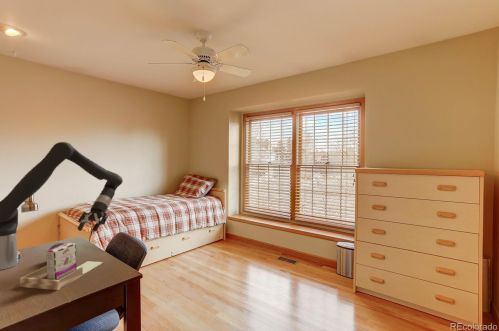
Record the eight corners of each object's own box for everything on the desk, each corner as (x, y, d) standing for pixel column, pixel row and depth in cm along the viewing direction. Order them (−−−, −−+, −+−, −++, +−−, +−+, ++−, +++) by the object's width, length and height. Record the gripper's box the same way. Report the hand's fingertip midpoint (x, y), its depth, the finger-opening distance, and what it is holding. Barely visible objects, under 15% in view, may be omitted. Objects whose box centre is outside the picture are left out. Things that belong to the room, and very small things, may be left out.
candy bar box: (68, 275, 127) (68, 242, 126) (77, 276, 126) (76, 243, 125) (46, 286, 116) (45, 250, 115) (55, 287, 115) (55, 251, 114)
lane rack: (20, 286, 115) (19, 278, 115) (48, 272, 129) (48, 264, 129) (58, 290, 113) (57, 281, 113) (82, 275, 127) (82, 267, 127)
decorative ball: (47, 266, 136) (46, 248, 136) (48, 260, 144) (47, 242, 144) (70, 262, 142) (70, 244, 141) (69, 256, 150) (69, 239, 149)
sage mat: (67, 273, 129) (67, 272, 129) (88, 261, 143) (88, 261, 143) (83, 274, 128) (83, 273, 128) (102, 262, 142) (102, 262, 142)
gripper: (86, 200, 144) (69, 226, 133) (109, 201, 142) (95, 227, 131) (93, 207, 150) (78, 233, 139) (116, 208, 148) (102, 234, 137)
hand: (86, 230), depth 135 cm, fingers open, 8 cm apart
